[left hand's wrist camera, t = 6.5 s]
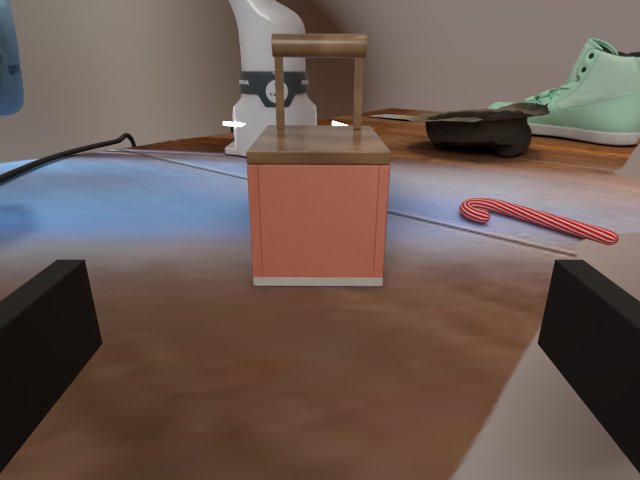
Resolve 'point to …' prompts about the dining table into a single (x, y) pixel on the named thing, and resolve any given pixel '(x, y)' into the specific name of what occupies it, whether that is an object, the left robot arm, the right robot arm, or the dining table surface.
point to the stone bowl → (484, 127)
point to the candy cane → (535, 219)
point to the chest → (318, 223)
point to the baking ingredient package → (393, 116)
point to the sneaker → (593, 99)
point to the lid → (318, 139)
